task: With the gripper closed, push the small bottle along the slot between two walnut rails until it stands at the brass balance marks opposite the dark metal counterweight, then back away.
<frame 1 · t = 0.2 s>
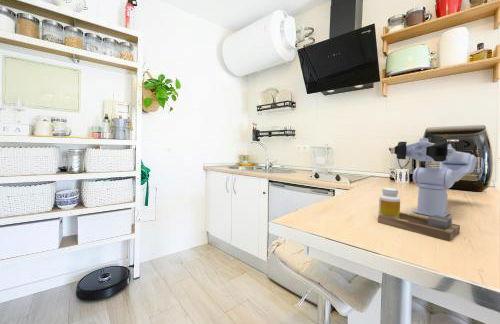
hand: (411, 150, 61), 21 cm above the table, tool horizontal, fingers open, 7 cm apart
supplement bottle: (388, 220, 66), on the table
beam: (416, 227, 60), on the table
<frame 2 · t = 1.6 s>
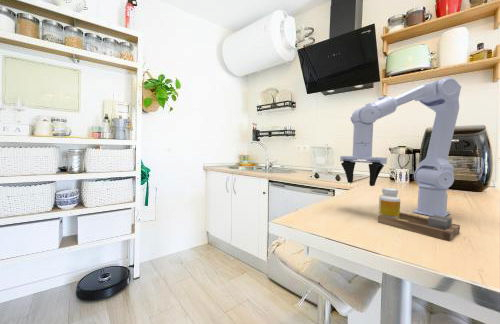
hand: (360, 184, 73), 10 cm above the table, tool pointing down, fingers open, 7 cm apart
nothing on the table moved.
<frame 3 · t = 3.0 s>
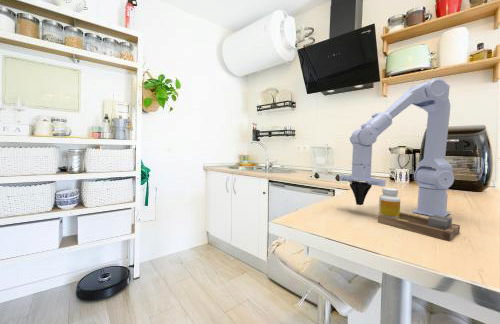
hand: (359, 204, 73), 3 cm above the table, tool pointing down, fingers closed
nothing on the table moved.
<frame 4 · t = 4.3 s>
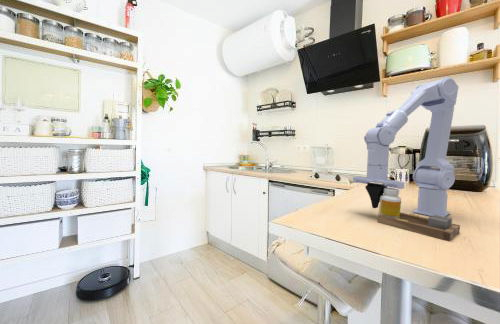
hand: (375, 207, 69), 3 cm above the table, tool pointing down, fingers closed
supplement bottle: (388, 220, 66), on the table, touching gripper
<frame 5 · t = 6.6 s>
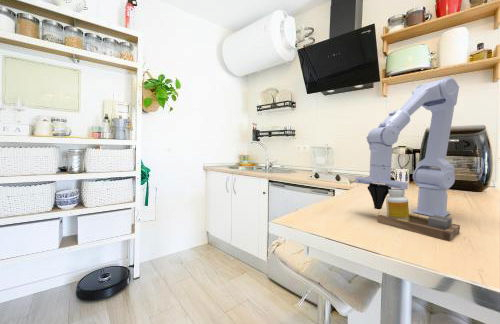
hand: (378, 208, 68), 3 cm above the table, tool pointing down, fingers closed
supplement bottle: (398, 223, 64), on the table
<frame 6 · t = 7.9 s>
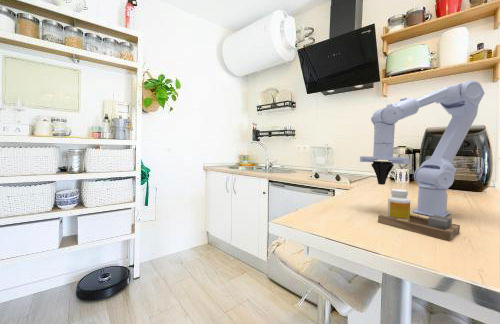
hand: (381, 184, 73), 10 cm above the table, tool pointing down, fingers closed
nothing on the table moved.
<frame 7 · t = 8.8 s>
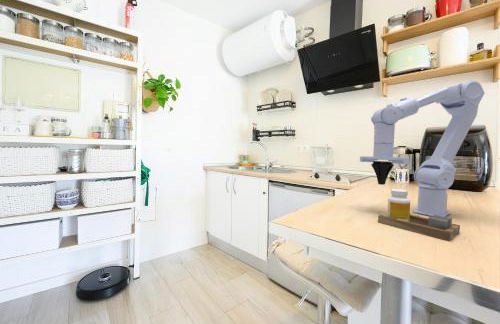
hand: (381, 184, 73), 10 cm above the table, tool pointing down, fingers closed
nothing on the table moved.
at the end: supplement bottle 2.3 cm from the target spot on the beam, point 0.0 cm above the beam's base; supplement bottle tilted 1° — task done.
